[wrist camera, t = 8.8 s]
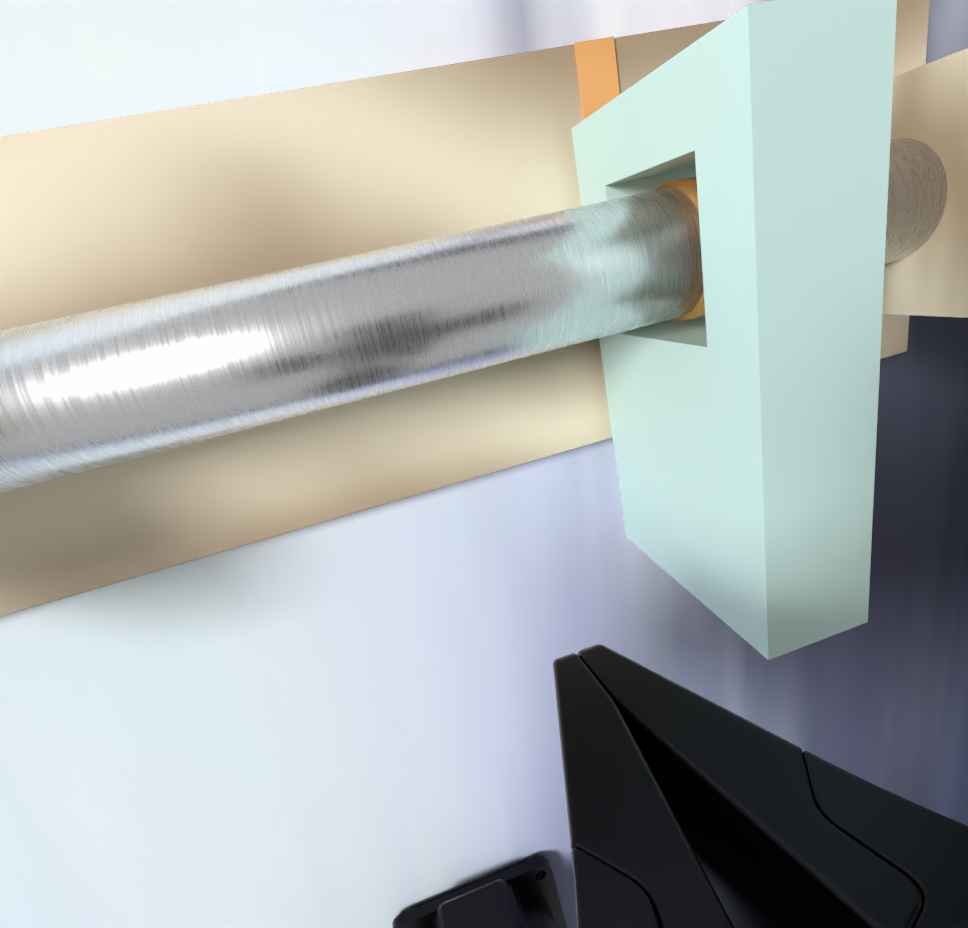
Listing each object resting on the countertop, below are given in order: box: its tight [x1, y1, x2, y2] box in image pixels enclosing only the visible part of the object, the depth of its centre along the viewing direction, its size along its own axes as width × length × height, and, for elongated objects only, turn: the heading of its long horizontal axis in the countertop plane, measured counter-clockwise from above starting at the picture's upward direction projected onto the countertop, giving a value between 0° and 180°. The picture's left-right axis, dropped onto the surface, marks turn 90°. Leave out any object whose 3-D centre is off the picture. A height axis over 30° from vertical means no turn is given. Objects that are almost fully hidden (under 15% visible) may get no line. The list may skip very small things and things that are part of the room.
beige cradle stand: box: [0, 0, 968, 617], centre depth 11 cm, size 10×34×8 cm, turn 102°
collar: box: [571, 0, 897, 660], centre depth 13 cm, size 11×2×6 cm, turn 12°
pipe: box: [0, 138, 948, 493], centre depth 10 cm, size 3×30×3 cm, turn 102°
